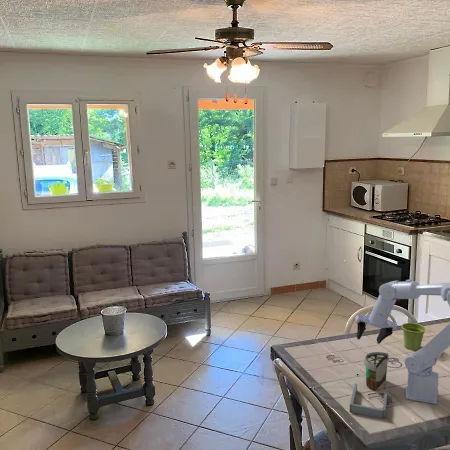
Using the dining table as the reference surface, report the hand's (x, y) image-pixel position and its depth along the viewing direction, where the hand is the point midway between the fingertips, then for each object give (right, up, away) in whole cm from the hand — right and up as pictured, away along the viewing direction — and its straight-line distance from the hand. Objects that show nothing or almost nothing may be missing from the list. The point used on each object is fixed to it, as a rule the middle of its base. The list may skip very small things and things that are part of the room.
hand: (367, 339), depth 169 cm
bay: (-6, -16, -19) cm, 25 cm away
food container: (0, -14, -6) cm, 15 cm away
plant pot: (+25, -9, +22) cm, 34 cm away
